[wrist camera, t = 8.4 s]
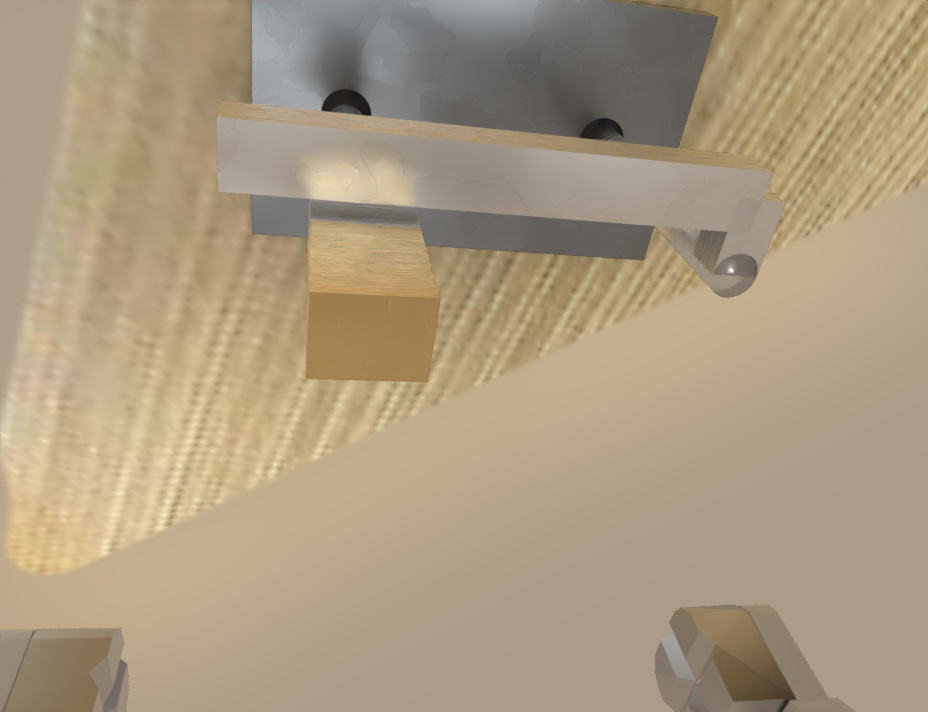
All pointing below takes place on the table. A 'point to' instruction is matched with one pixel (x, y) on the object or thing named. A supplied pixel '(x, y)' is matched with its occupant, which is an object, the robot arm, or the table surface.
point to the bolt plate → (486, 89)
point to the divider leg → (368, 292)
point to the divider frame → (510, 178)
